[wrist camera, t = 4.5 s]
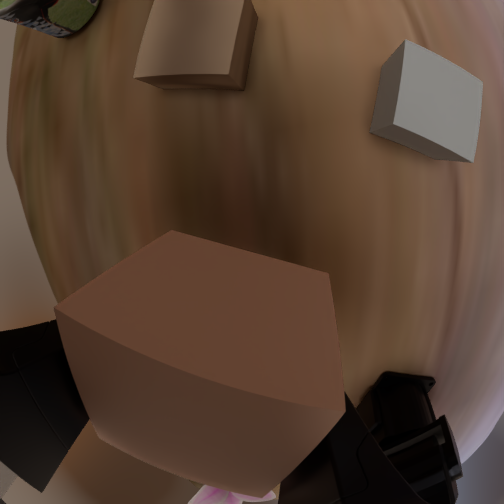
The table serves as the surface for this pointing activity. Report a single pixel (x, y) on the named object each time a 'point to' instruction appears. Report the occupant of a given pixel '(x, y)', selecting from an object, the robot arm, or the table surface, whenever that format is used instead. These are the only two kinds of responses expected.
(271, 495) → the lily
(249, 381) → the terracotta block
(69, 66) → the table surface
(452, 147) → the slate-grey block
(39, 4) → the beverage can
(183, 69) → the walnut block
